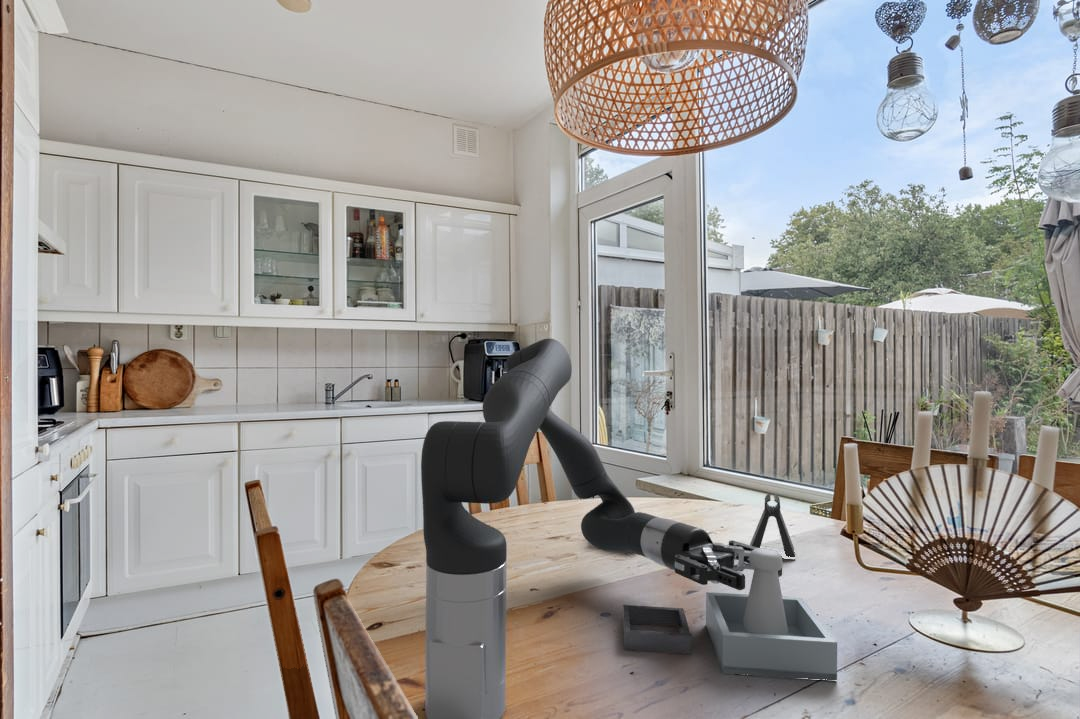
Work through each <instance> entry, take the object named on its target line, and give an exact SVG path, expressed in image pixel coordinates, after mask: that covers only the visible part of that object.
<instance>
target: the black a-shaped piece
mask: <svg viewBox="0 0 1080 719" xmlns="http://www.w3.org/2000/svg"><path fill="white" fill-rule="evenodd" d="M773 498H774V499H773V500H774V502H775V503H776V505H773V506H772V505H769V502H771V492H770V493H767V494H766V495H765V497H764V509H763V511H762V514H761V516H760V519H759V521H758V523H757V525H756V529H755V531H754V533H753V535H752V538H751V540H750V543H749V545H750V546H754V547H757V548H760V546H762V543H763V538H764V535H765V532H766V529H767V525H768V522H769V519H770V518H771V517H773V518H775V519H776V520H775V521H776V524H777V529H778V531H779V536H780V539H781V542H782V546H783V549H784V551H785V554H786V556H788V557H789V556H790V557H795V556H796V552H794V549H795V547H794V544H793V541H792V539H791V537H790V533H789V531H788V527H787V525H786V523H785V520H784V517H783V514H782V512H781V502H780V501H781V500H780V497H779V495H777V493H774V495H773Z"/></svg>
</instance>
